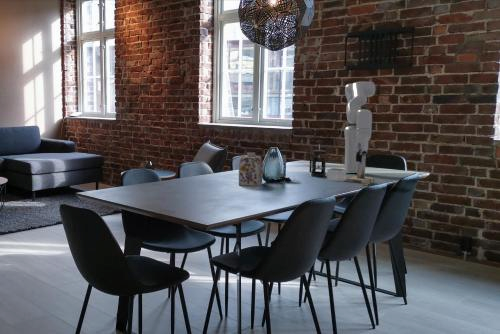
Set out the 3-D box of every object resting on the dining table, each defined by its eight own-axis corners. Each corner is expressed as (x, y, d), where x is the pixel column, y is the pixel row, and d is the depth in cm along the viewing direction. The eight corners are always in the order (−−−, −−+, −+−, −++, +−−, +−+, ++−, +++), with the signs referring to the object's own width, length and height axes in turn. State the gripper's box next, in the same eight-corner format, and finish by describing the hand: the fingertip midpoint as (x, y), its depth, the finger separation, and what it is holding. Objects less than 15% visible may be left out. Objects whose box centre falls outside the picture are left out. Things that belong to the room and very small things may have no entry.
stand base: (331, 178, 314) (331, 167, 313) (349, 180, 308) (350, 169, 307) (323, 181, 304) (323, 169, 303) (342, 183, 297) (342, 171, 297)
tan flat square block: (354, 181, 306) (354, 176, 306) (374, 182, 300) (374, 177, 299) (347, 183, 296) (347, 178, 295) (367, 185, 290) (367, 180, 289)
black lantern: (329, 178, 318) (331, 141, 315) (321, 179, 311) (322, 141, 308) (314, 176, 326) (315, 140, 323) (305, 177, 319) (306, 140, 316)
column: (358, 177, 301) (359, 152, 299) (366, 178, 299) (367, 153, 297) (355, 178, 297) (356, 153, 295) (363, 179, 294) (364, 153, 293)
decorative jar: (258, 186, 280) (259, 154, 278) (238, 185, 282) (238, 153, 280) (262, 183, 292) (263, 152, 289) (242, 182, 294) (243, 151, 292)
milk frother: (275, 178, 314) (276, 154, 312) (298, 180, 306) (299, 155, 304) (263, 180, 302) (264, 155, 300) (287, 183, 294) (288, 157, 292)
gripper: (361, 130, 304) (360, 159, 306) (351, 131, 289) (350, 161, 291) (374, 131, 300) (372, 160, 302) (364, 132, 285) (362, 162, 287)
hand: (361, 160), depth 296 cm, fingers open, 9 cm apart
